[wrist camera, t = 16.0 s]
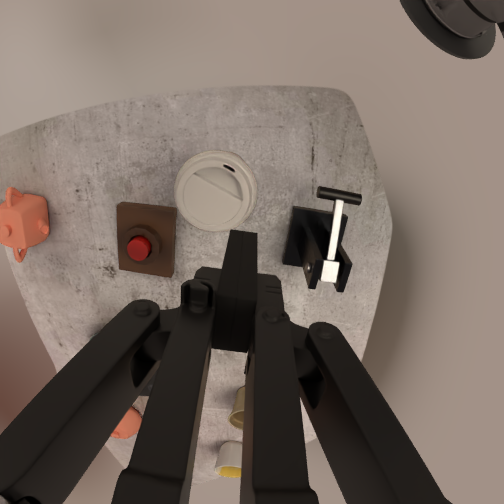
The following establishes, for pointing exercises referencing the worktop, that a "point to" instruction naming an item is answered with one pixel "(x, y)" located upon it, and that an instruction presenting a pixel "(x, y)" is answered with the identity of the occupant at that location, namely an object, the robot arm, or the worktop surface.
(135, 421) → the sugar bowl
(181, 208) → the coffee cup
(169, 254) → the button block
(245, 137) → the worktop surface
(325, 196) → the press lever
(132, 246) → the button
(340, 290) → the lever bracket
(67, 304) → the worktop surface
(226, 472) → the mug
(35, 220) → the teapot
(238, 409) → the flower pot
